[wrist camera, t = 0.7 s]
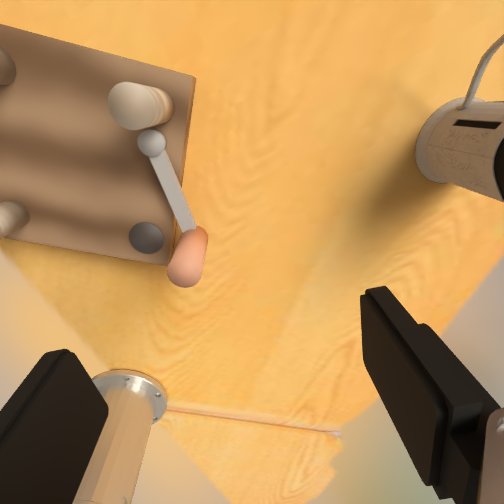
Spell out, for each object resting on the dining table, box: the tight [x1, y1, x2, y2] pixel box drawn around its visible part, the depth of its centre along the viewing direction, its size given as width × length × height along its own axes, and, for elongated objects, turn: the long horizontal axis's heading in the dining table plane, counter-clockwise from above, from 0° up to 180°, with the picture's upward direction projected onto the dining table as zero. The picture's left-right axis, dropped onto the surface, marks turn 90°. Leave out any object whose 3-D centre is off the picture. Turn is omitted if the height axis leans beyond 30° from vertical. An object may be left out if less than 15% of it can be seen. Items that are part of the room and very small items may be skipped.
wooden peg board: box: [0, 24, 196, 266], centre depth 26 cm, size 19×18×11 cm
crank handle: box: [138, 129, 208, 288], centre depth 26 cm, size 12×3×8 cm, turn 17°
